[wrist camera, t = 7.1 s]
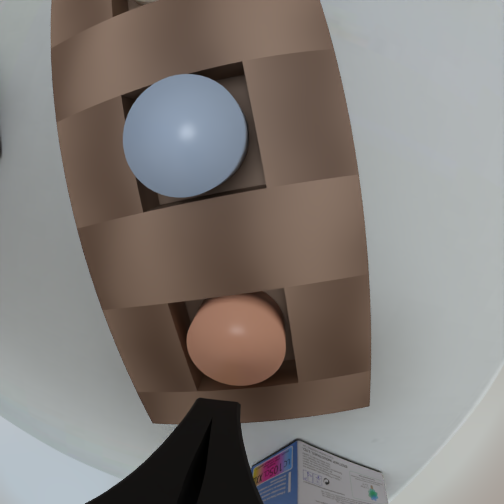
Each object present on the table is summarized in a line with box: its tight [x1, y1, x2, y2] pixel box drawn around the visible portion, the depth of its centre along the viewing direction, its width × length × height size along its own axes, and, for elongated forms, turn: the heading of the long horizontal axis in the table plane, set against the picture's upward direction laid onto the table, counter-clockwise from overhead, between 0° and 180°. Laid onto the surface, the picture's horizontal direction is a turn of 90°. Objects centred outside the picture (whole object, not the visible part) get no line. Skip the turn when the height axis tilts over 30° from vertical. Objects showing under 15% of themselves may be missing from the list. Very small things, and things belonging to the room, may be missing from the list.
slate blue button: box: [123, 74, 249, 197], centre depth 11 cm, size 4×4×2 cm
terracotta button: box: [187, 291, 286, 386], centre depth 15 cm, size 4×4×2 cm
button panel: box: [51, 0, 371, 424], centre depth 13 cm, size 12×28×3 cm, turn 10°
